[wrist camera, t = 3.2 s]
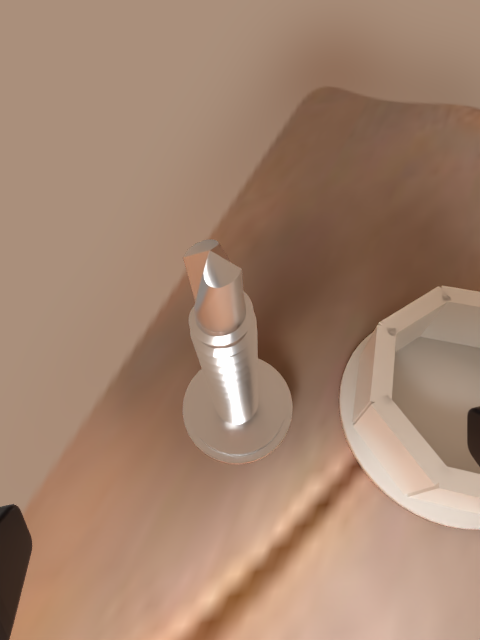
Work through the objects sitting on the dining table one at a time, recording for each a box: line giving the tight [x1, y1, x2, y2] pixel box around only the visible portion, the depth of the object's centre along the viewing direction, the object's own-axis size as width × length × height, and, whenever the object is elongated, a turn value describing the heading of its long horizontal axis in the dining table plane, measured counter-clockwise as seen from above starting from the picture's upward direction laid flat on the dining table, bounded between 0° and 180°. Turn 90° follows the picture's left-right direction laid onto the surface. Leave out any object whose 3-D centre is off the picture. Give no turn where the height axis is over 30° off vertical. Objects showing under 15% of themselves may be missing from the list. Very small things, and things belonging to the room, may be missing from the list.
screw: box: [183, 239, 293, 464], centre depth 14 cm, size 13×5×5 cm
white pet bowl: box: [339, 285, 480, 530], centre depth 17 cm, size 10×10×4 cm
